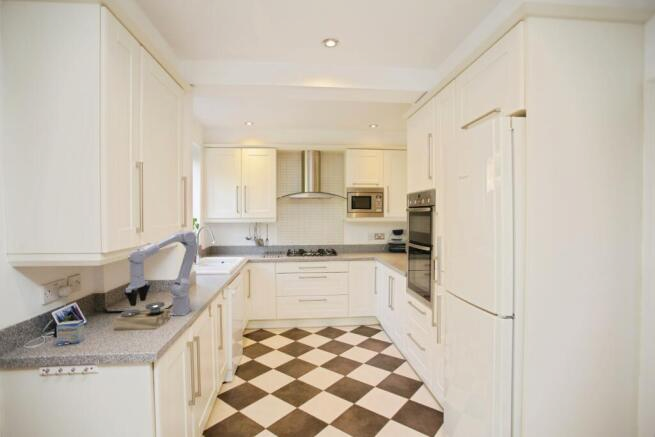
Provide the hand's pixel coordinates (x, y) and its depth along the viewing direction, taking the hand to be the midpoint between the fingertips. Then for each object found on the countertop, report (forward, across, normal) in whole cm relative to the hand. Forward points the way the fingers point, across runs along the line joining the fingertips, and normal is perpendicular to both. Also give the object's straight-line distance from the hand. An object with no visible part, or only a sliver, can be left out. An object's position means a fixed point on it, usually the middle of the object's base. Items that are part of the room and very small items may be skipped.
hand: (138, 303), depth 147 cm
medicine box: (+10, +19, -17) cm, 28 cm away
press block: (+10, 0, +2) cm, 11 cm away
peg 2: (+5, 0, +8) cm, 10 cm away
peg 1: (+9, 0, -4) cm, 10 cm away
